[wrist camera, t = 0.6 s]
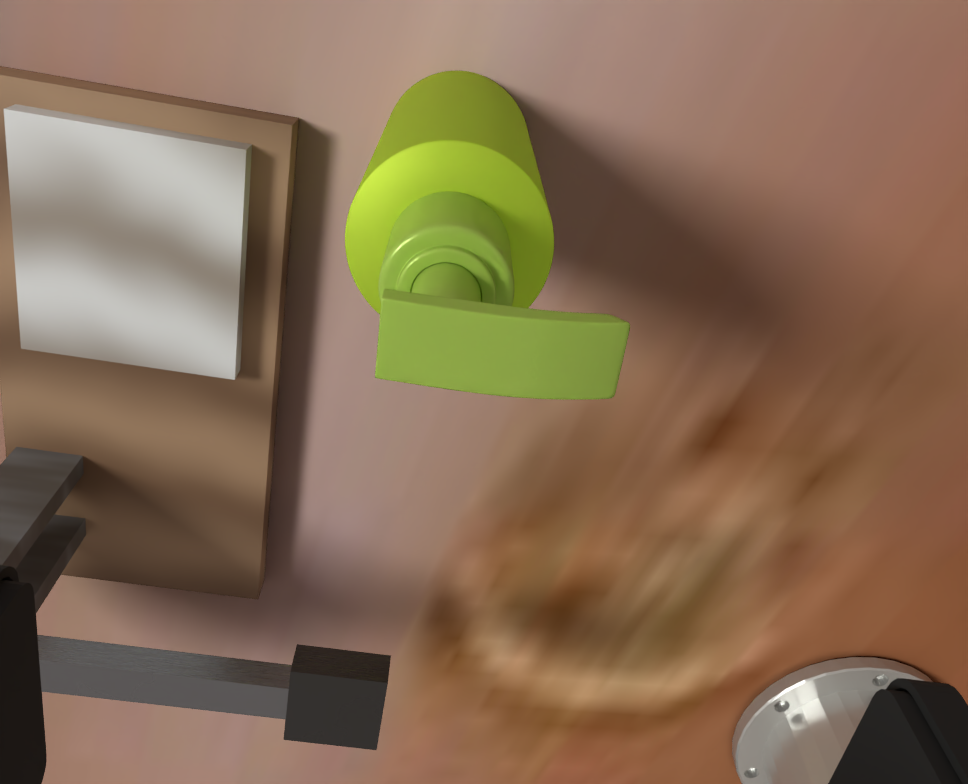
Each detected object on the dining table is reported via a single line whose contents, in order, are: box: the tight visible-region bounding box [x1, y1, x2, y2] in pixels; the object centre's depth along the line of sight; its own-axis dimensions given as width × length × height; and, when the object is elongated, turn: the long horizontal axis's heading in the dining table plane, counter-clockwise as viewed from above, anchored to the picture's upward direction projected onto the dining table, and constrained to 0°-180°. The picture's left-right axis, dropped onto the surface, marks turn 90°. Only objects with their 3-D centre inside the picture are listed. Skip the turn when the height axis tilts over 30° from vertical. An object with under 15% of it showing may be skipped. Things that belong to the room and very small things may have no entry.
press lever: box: [37, 635, 391, 750], centre depth 34 cm, size 6×23×6 cm, turn 80°
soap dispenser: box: [345, 71, 630, 399], centre depth 28 cm, size 6×7×20 cm
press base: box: [0, 66, 299, 612], centre depth 34 cm, size 24×12×14 cm, turn 170°
